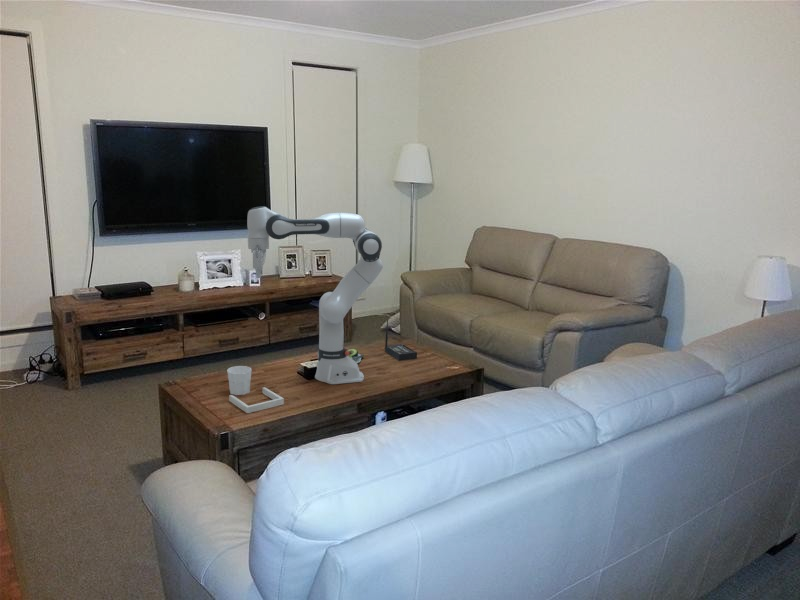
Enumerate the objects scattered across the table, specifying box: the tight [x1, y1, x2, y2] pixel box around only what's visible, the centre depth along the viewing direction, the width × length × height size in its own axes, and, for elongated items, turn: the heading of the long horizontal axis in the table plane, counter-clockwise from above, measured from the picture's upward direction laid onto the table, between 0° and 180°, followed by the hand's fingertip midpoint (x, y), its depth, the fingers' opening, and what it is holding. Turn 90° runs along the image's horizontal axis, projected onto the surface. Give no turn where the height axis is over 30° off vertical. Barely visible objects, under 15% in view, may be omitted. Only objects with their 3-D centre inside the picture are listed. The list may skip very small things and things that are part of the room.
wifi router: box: [384, 319, 418, 362], centre depth 324 cm, size 20×14×17 cm
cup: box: [226, 365, 253, 397], centre depth 262 cm, size 10×10×10 cm
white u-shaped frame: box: [228, 386, 285, 414], centre depth 253 cm, size 15×16×2 cm
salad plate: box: [347, 348, 365, 364], centre depth 310 cm, size 19×18×5 cm
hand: (259, 276), depth 268 cm, fingers open, 8 cm apart
